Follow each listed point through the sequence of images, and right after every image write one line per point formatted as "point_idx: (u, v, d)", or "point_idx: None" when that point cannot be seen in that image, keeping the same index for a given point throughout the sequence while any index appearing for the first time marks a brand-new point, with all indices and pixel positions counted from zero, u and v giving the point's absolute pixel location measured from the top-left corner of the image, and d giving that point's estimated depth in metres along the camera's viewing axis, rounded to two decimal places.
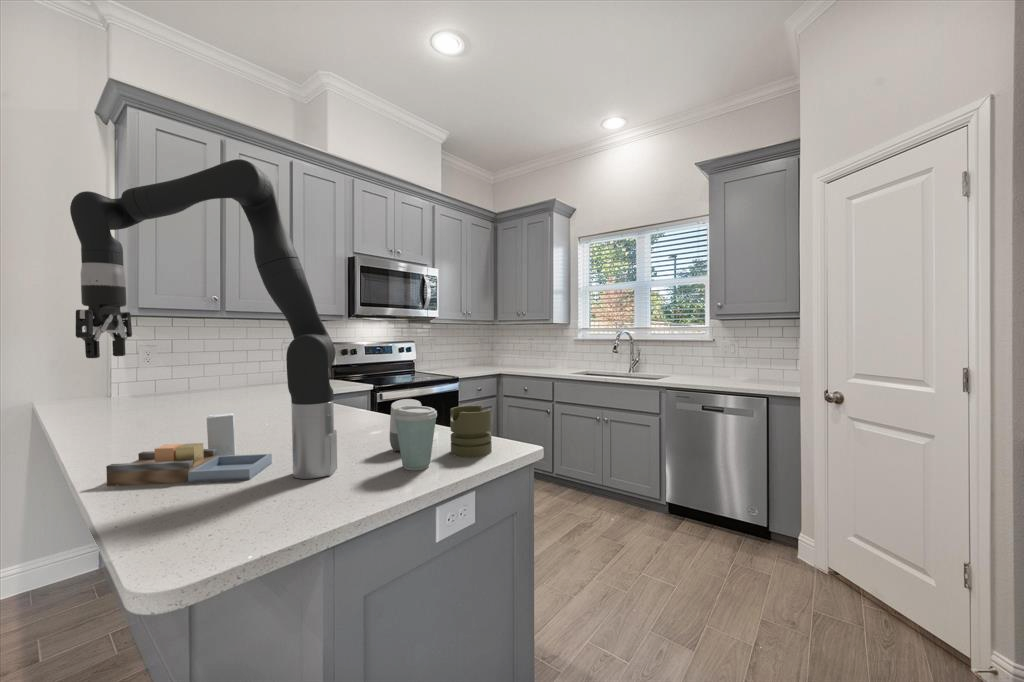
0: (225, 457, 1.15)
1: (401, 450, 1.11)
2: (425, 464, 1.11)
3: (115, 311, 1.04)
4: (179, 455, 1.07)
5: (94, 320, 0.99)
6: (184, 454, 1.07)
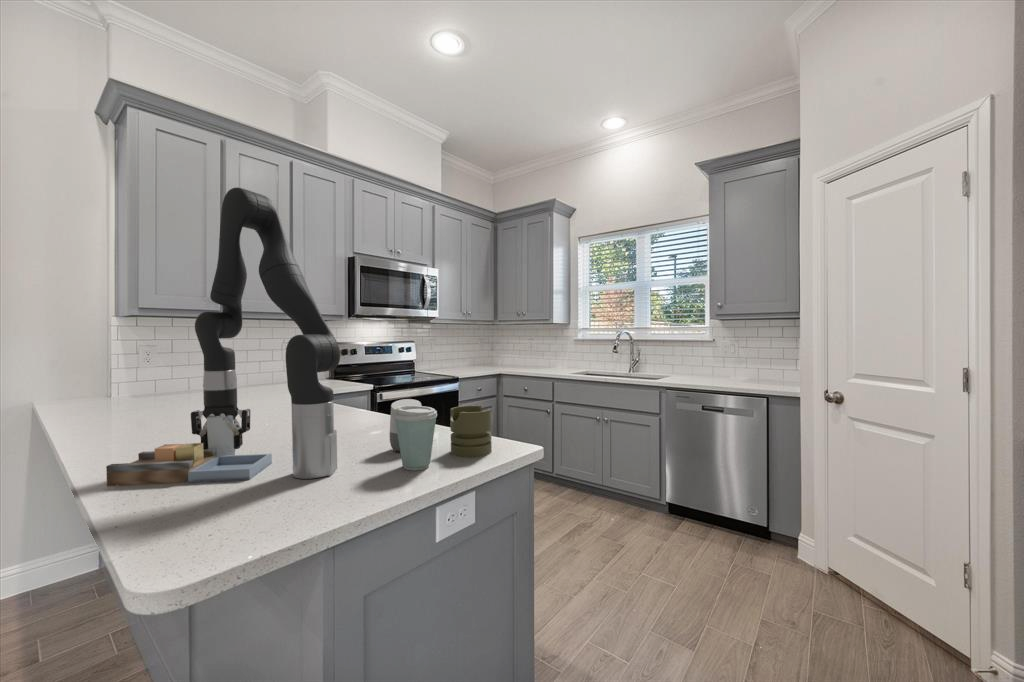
0: (225, 457, 1.15)
1: (401, 450, 1.11)
2: (425, 464, 1.11)
3: None
4: (179, 455, 1.07)
5: None
6: (184, 454, 1.07)
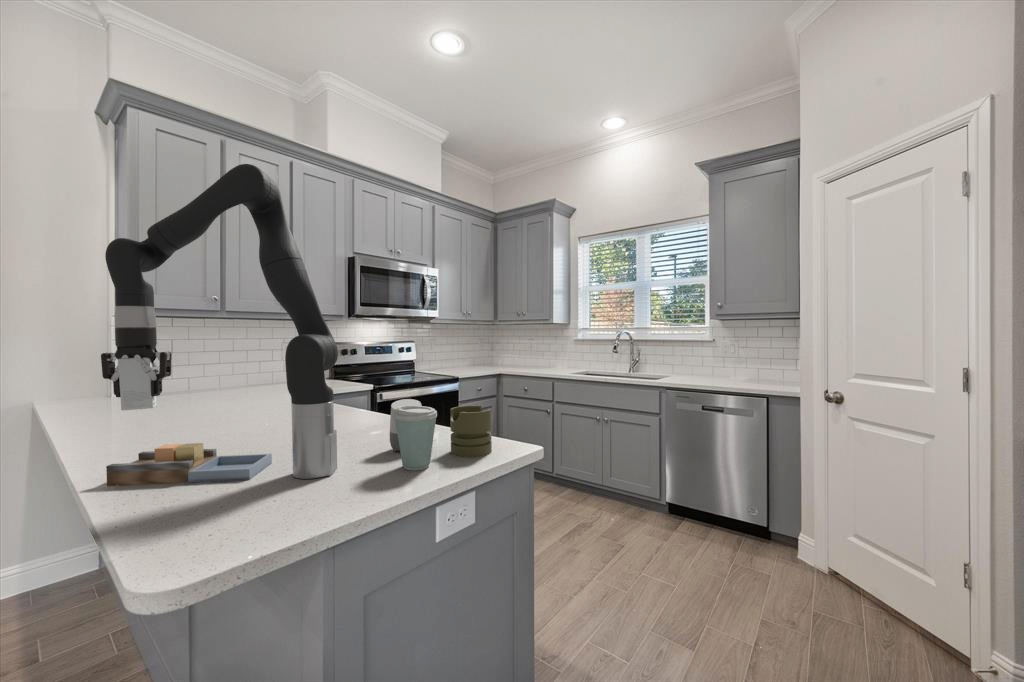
0: (225, 457, 1.15)
1: (401, 450, 1.11)
2: (425, 464, 1.11)
3: None
4: (179, 455, 1.07)
5: None
6: (184, 454, 1.07)
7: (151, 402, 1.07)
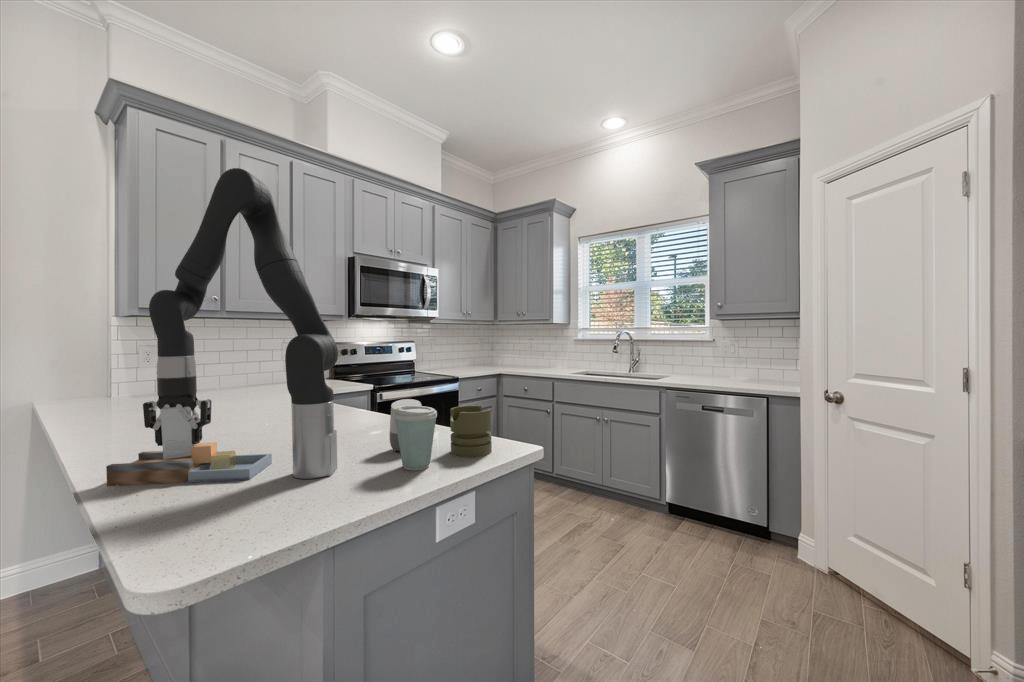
0: None
1: (401, 450, 1.11)
2: (425, 464, 1.11)
3: None
4: (220, 458, 1.08)
5: None
6: (221, 463, 1.08)
7: None
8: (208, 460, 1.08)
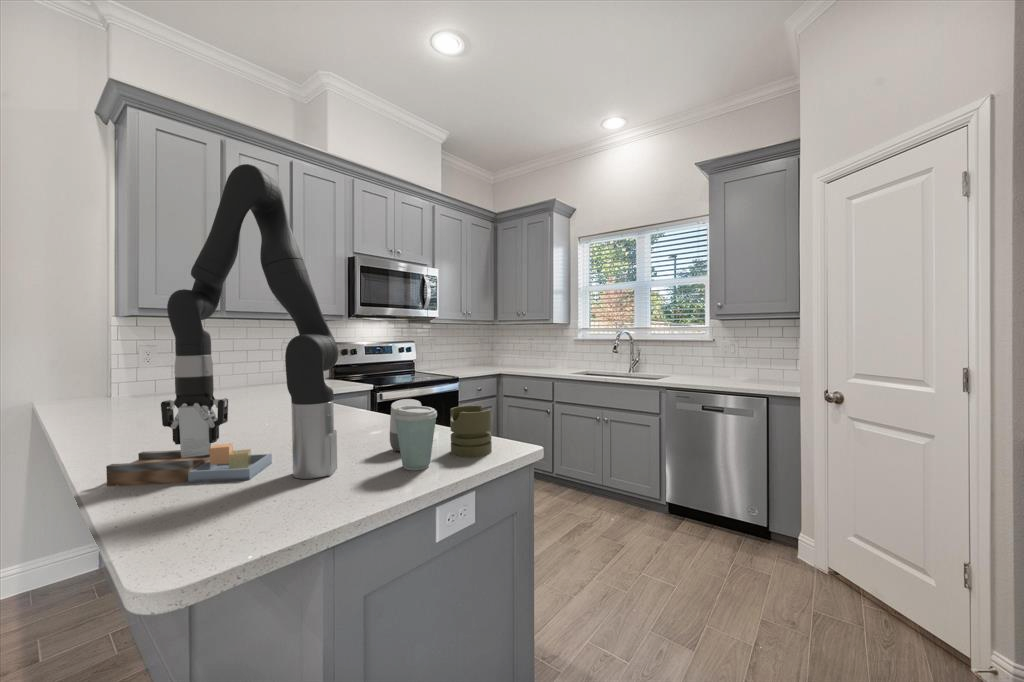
0: None
1: (401, 450, 1.11)
2: (425, 464, 1.11)
3: None
4: (239, 457, 1.10)
5: None
6: (240, 461, 1.10)
7: (209, 449, 1.09)
8: (226, 461, 1.09)
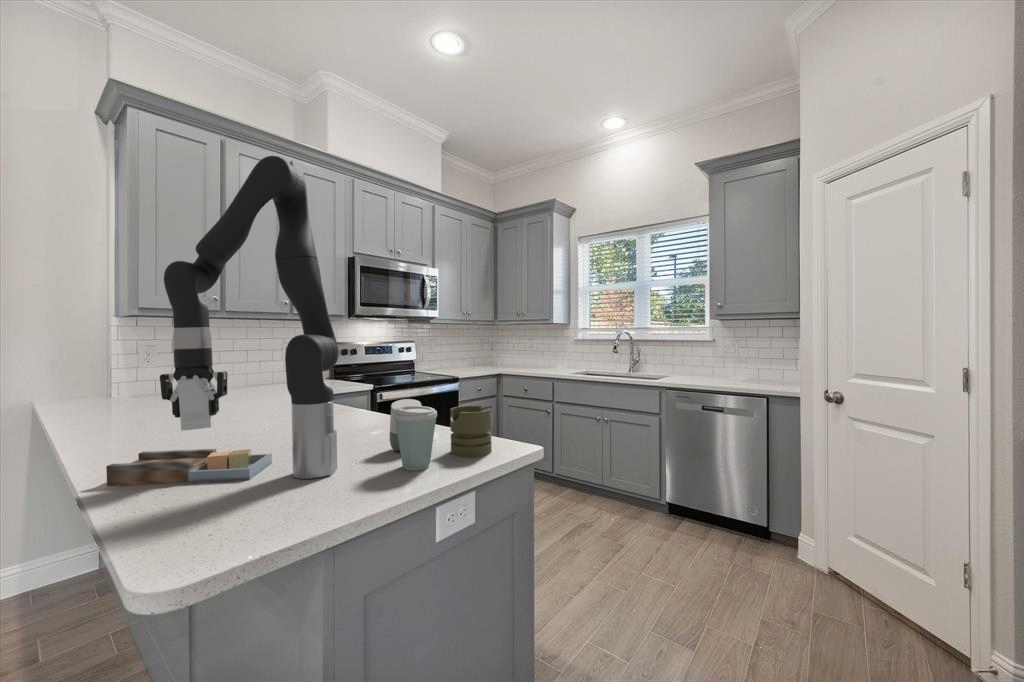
0: None
1: (401, 450, 1.11)
2: (425, 464, 1.11)
3: None
4: (239, 457, 1.10)
5: None
6: (240, 461, 1.10)
7: (209, 422, 1.08)
8: None
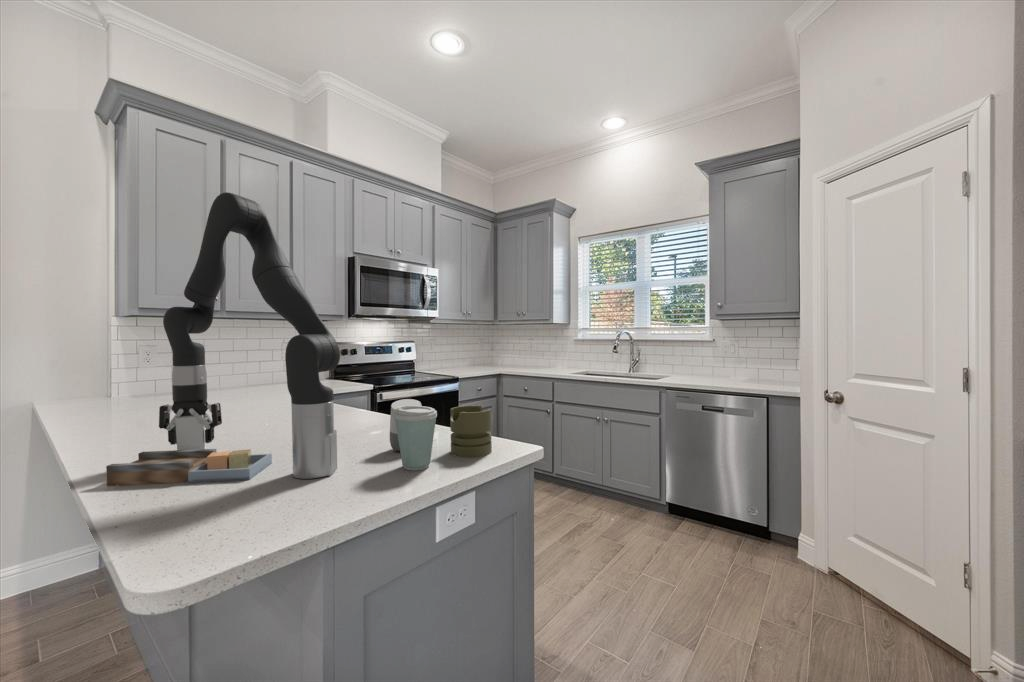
0: None
1: (401, 450, 1.11)
2: (425, 464, 1.11)
3: None
4: (239, 457, 1.10)
5: None
6: (240, 461, 1.10)
7: None
8: None
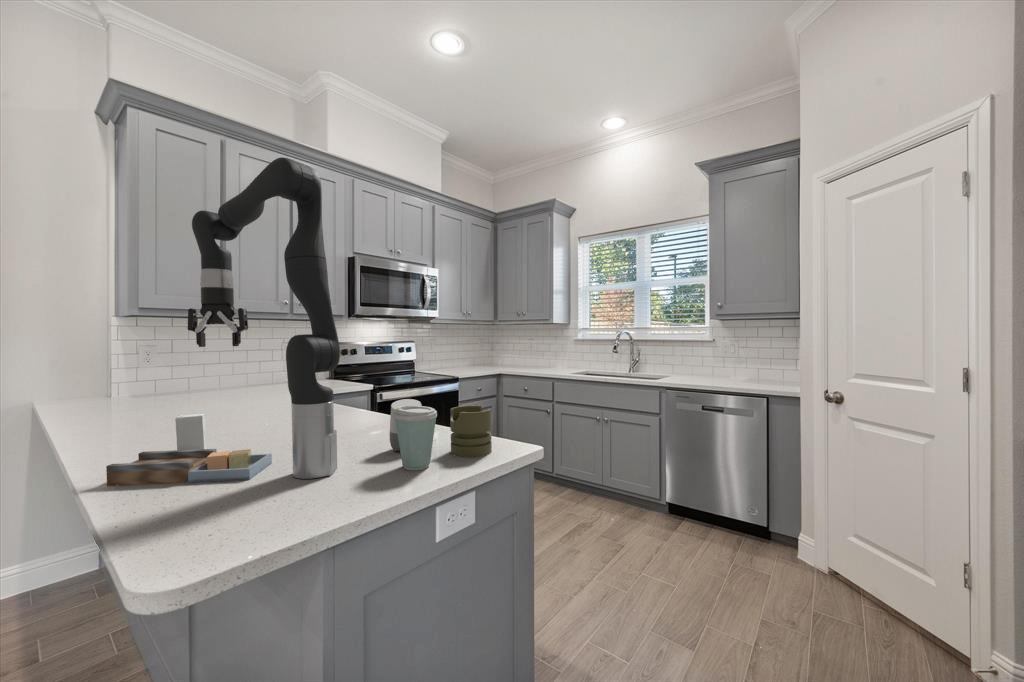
0: None
1: (401, 450, 1.11)
2: (425, 464, 1.11)
3: None
4: (239, 457, 1.10)
5: None
6: (240, 461, 1.10)
7: None
8: None
